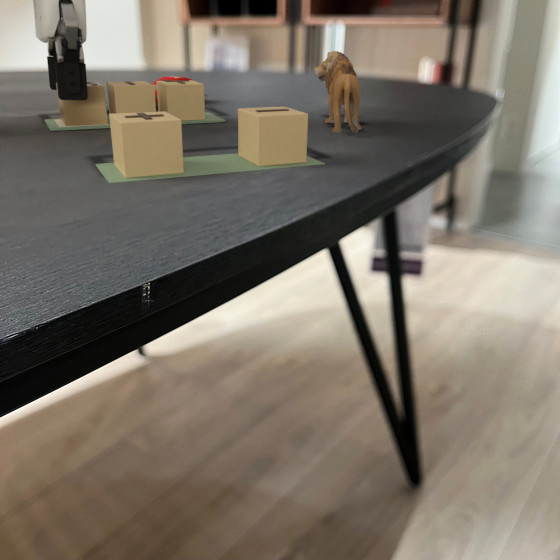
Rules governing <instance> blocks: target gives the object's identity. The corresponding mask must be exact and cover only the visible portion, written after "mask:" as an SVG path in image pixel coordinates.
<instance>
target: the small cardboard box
mask: <svg viewBox="0 0 560 560" xmlns="http://www.w3.org/2000/svg"><path fill="white" fill-rule="evenodd" d="M56 88H57V83H56ZM87 92H88V98H87V100H61V99H59V97H58V89H57V90H56V94H57V102H58V108H59V116H60V118H59V119H61V120H62V122H63V123H64V124H65V125H66V126H74V125H94V124H108V121H107V117H108V111H107V103H106V91H105V86H104V84H102V83H100V82H98V81H87Z"/></svg>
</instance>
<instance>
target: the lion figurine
mask: <svg viewBox="0 0 560 560" xmlns="http://www.w3.org/2000/svg"><path fill="white" fill-rule="evenodd" d="M313 71H314V72H315V73H314V74H315V75H316V77H317V80H318V82H320V83H322V82H325V84H324V85H325V88H326V91H327V93H328V110H329V111H328V113H329V117H328V118H326V119H325V121H324V122H325V123H326V124H334V127H333V128H332V129H331V132H332V133H337V134H339V133H340V134H341V133H342V115H341V108H342V105H343V106H344V117H343V121H344V123H346V124H348V126H349V129H350V131H351V132H353V133H354V134H357V133H359V131H362V129H363V128H362V126H361V125H360V122H359V121H360V119H359V111H360V105H361V86H360V83H359V79H358V75H357V72H356V70H355V68H354V65H353V64H352V62H351V60H350V59H349V57H347V56H346V55H345V53H342V52H341V51H338V50H332V51H328V52H327V56H326V59H325V60H324V61H322V62H321V64H319V65H317V66H316V67H314V69H313Z"/></svg>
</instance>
